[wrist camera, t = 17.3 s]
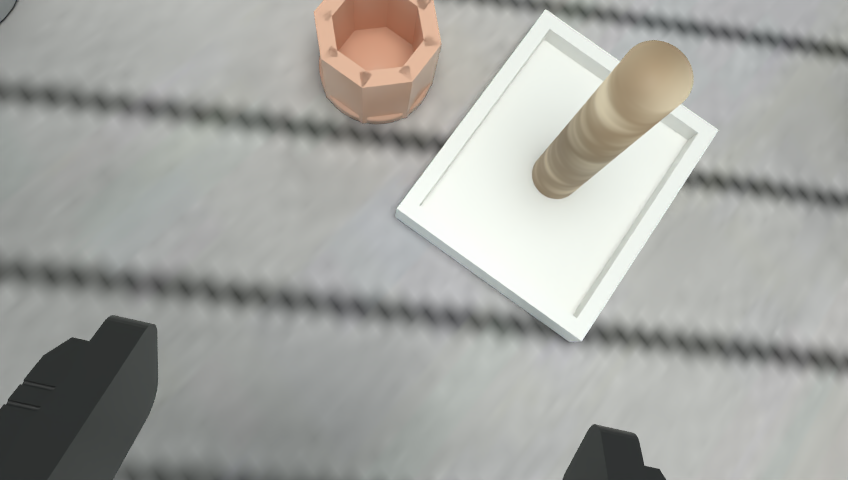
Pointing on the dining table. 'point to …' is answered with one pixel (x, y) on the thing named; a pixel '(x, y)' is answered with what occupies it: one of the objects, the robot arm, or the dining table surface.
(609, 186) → the tray
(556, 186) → the wooden pin
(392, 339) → the dining table surface
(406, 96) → the holder cup
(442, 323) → the dining table surface
